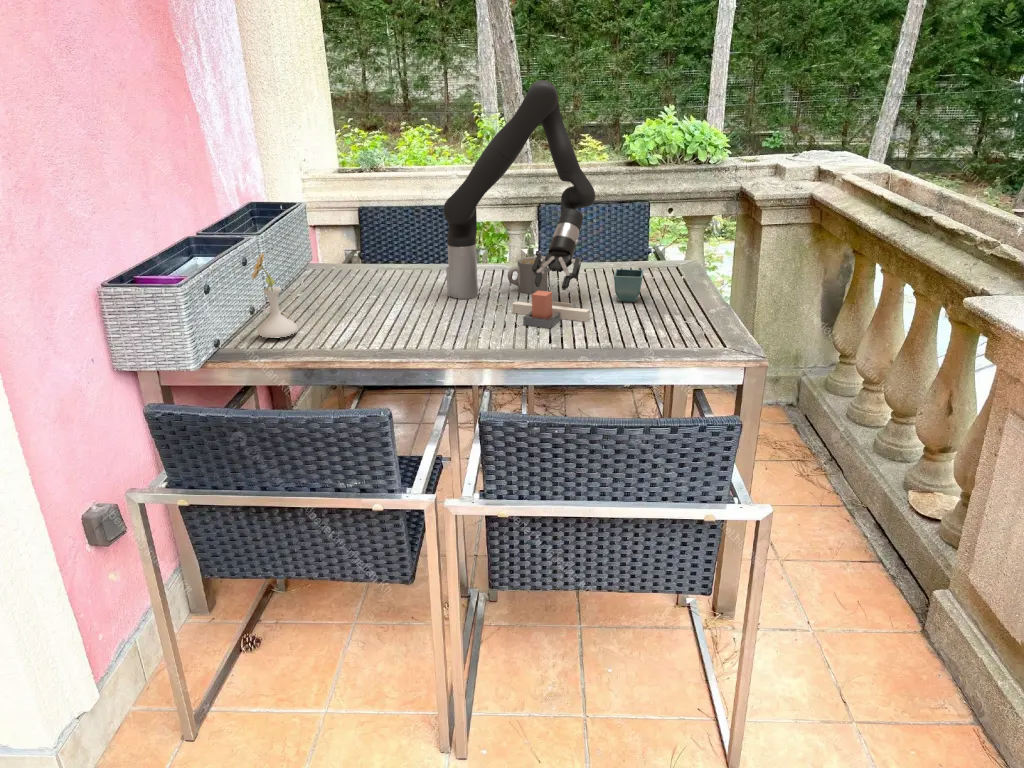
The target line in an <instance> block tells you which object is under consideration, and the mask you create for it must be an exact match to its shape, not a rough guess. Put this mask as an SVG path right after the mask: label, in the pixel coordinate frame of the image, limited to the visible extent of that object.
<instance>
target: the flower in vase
mask: <svg viewBox="0 0 1024 768" xmlns="http://www.w3.org/2000/svg"><path fill="white" fill-rule="evenodd" d="M264 259H265V253H264V252H263V253H262V252H260V254H259V257H257V258H256V265H254V266H253V267H252V268H253V272H252V273H251V274H250V275H251V278H252V280H255V279H257V277H258V275H259V274H260V271H261V270H263V272H265V275H266V276H267V277H266V278H265V282H266V284H267V287H266V288H264V289H262V292H263V293H264V294H265V296H266V298H267V300H268V302H269V307H270V314H269V316H268V318H266V320H265V321H263V323H262V324H261V325H260V326H259V327H258V328H257V330H256V331H257V332H256V333H257V336H259V335H260V336H262V337H261V338H263V337H271V338H275V337H285V336H288V335H291V334H293V333H295V332H296V333H297V332H298V330H299V327H298V325H297V324H296V323H295V322H294V321H292V320H290V319H289V318H287V317H286V316H283V315H282V314H281V312H280V307H279V294H280V292H281V290H282V288H281V287H278V286H274V285H275V283H276V281H275V279H273V277H271V275H270V274H268V272H267V270H266V269H265V268H264V267H263V264H264ZM273 286H274V287H273ZM296 333H295V334H296ZM293 335H294V334H293ZM260 336H259V337H260ZM291 336H292V335H291ZM285 338H286V337H285Z"/></svg>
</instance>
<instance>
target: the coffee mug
mask: <svg viewBox="0 0 1024 768" xmlns="http://www.w3.org/2000/svg"><path fill="white" fill-rule="evenodd" d="M536 257H537V256H529V257H527V256H526V257H522V258H521V257H520V258H518V259H517V266H513V267H510V268H509V269H508V272H507V280H508V282H509V283H510V284H511V285H514V286H516V287H517V291H518V292H520V293H522V292H523V294H531V295H532V294H533V293H535V292H537V291H548V273H546V274H544V275H543V276H542V280H541V283H540V287H536V285H535V283H534V280H535V277H536V275H535V274H534V273H533V271H532V267H533V264H534V262H535V259H536ZM545 262H546V261H544V262H543V263H541V266H540V268H541V267H542V265H543V264H544V263H545ZM514 272H516V274H517V277H516V279H513V277H512V276H513V273H514Z"/></svg>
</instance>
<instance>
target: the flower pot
mask: <svg viewBox="0 0 1024 768" xmlns="http://www.w3.org/2000/svg"><path fill="white" fill-rule="evenodd" d="M643 274H644V270H643V269H626V268H625V269H623V268H617V269H615V271H614V274H613V281H614V283H613V284H614V292H615V295H616V298H617V300H618V301H619V302H624V303H626V302H627V303H628V302H629V303H630V302H631V303H635V302H636V301H637V299H638V298H639V296H640V293H641V288H642V284H643V283H642V282H643V278H644V275H643Z"/></svg>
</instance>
